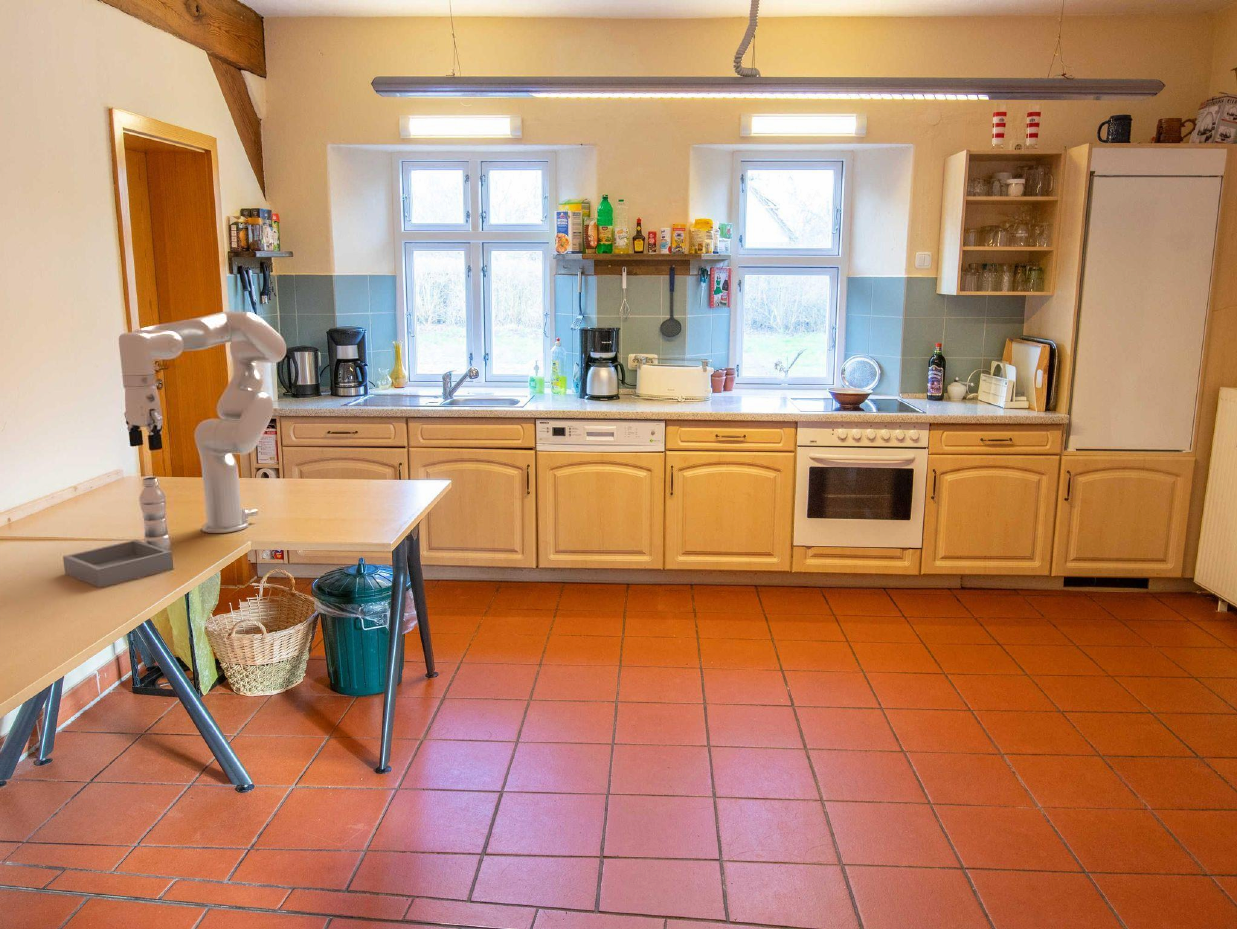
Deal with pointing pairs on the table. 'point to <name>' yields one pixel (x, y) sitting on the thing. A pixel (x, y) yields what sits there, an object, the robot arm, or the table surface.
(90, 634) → the table surface
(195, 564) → the table surface
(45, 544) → the table surface
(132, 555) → the bin
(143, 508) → the plastic bottle
